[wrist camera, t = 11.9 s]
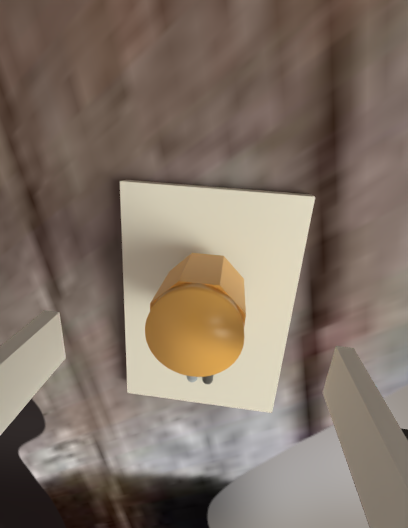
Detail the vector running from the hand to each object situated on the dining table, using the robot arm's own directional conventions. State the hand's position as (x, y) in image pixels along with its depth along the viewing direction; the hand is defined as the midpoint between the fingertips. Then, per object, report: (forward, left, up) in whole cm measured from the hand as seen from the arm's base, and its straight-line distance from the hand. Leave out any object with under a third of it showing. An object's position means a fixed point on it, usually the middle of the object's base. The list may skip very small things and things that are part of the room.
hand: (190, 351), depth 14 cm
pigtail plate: (+3, 0, -11) cm, 12 cm away
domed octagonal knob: (0, 0, -8) cm, 8 cm away
